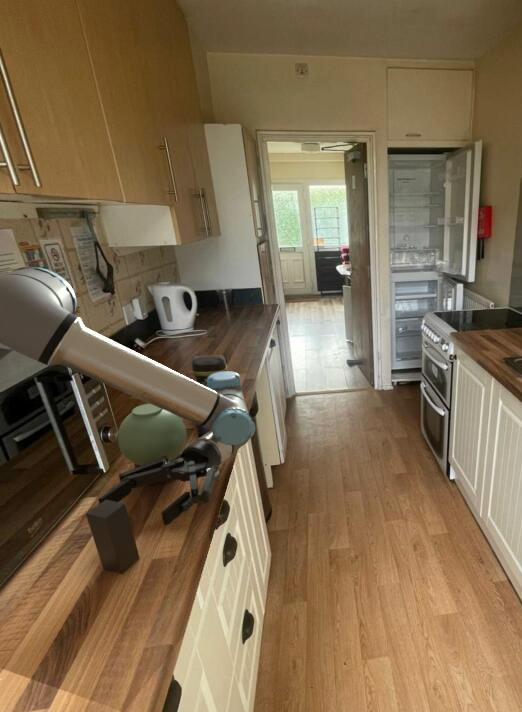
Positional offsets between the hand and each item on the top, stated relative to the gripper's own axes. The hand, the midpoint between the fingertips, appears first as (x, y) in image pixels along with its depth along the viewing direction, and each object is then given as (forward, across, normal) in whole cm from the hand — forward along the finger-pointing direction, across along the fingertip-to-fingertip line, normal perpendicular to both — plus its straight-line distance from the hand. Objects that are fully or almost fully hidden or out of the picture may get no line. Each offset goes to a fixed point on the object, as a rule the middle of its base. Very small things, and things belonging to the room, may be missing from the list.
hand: (132, 512), depth 77 cm
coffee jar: (-55, +22, -8) cm, 59 cm away
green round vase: (-22, +14, -8) cm, 27 cm away
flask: (-44, +18, -8) cm, 48 cm away
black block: (+4, 0, -8) cm, 9 cm away
